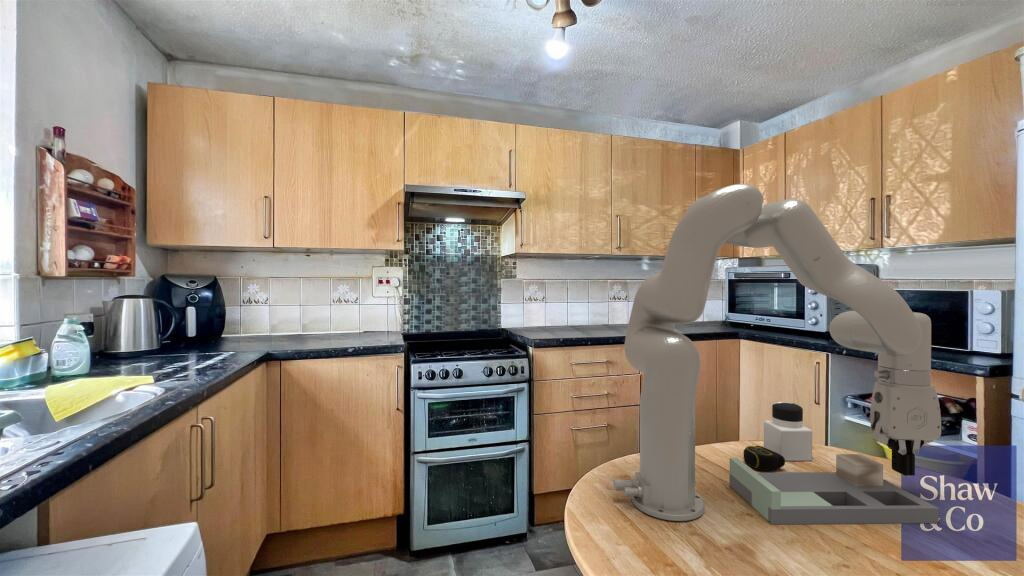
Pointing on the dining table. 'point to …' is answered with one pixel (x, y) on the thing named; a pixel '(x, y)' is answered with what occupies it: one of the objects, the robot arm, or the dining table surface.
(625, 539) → the dining table surface
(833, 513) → the grey green slotted tray
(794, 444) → the medicine bottle
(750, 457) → the tape measure
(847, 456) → the block
